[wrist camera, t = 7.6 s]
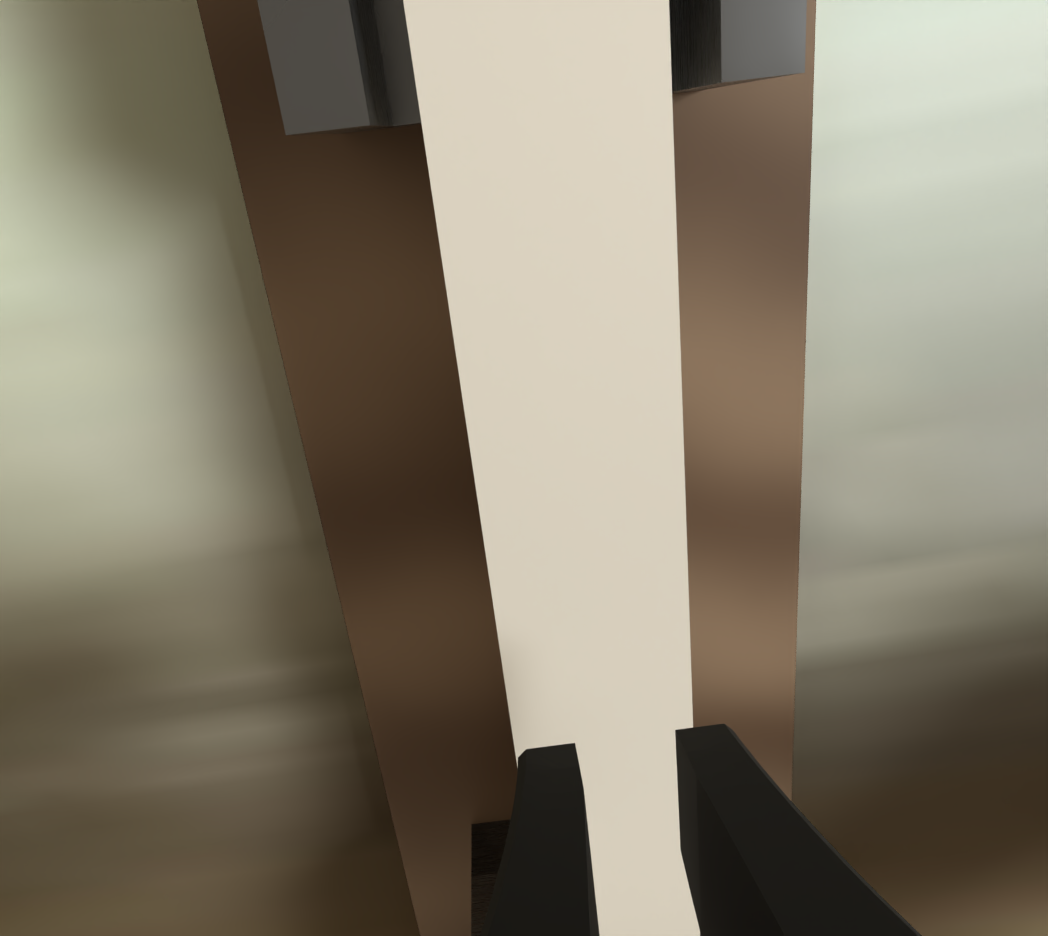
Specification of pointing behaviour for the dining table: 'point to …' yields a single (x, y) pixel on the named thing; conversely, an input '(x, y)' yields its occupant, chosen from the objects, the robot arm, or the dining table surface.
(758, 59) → the end caps
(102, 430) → the dining table surface
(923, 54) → the dining table surface
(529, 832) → the robot arm
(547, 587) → the slat
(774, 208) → the frame board
